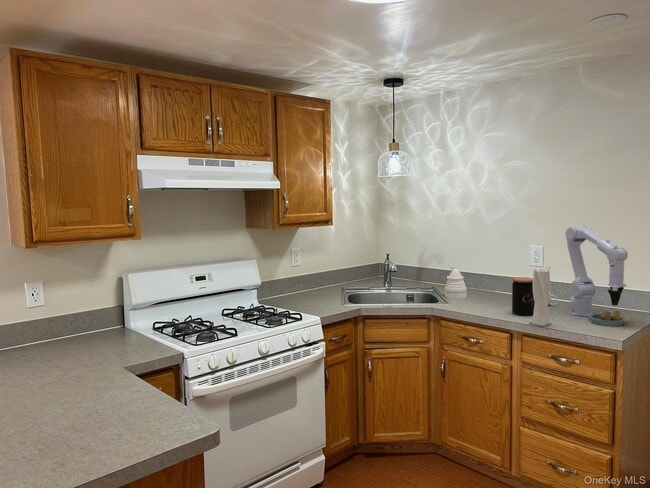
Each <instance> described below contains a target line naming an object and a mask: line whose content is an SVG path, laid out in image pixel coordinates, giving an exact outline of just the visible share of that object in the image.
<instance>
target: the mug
mask: <svg viewBox="0 0 650 488" xmlns="http://www.w3.org/2000/svg"><path fill="white" fill-rule="evenodd" d="M552 297H554V298H555V302H554V303H552V302H551V301H552ZM557 303H558V297H557V296H556V295H555V294H552V293H551V291H550V292H549V297H548V301H547V306H549V305H551V306H554V305H557Z"/></svg>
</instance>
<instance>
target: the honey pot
mask: <svg viewBox="0 0 650 488" xmlns="http://www.w3.org/2000/svg"><path fill="white" fill-rule="evenodd" d="M449 268H450V270H451V272H450V274H449V275H447V276H446V279H447V280H446V283H445V286H444V297H445V298H447V299H465V298H467V293H468V290H467V286H466V282H465V281H464V278H465V277H464V276H463V275H462V273H461V272H460V271H459V269H458V268H455V266H452V265H451V266H449Z"/></svg>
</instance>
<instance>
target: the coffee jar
mask: <svg viewBox="0 0 650 488" xmlns="http://www.w3.org/2000/svg"><path fill="white" fill-rule="evenodd" d="M511 285H512V288H511V289H512V290H511V292H512V293H511V295H512V296H511V304H512V305H511V312H512V313H513V315H515V314H516V316H521V317H528V316H529V317H530V316H533V313H534V306H535V301H534V296H533V277H528V276H527V277H526V276H523V277H522V276H519V277H518V276H517V277H512V284H511Z"/></svg>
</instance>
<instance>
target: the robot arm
mask: <svg viewBox="0 0 650 488" xmlns="http://www.w3.org/2000/svg"><path fill="white" fill-rule="evenodd" d="M564 234H565V238H566V242H567V243H566V244H567V250H568V253H569V257H570V262H571V266H572V271H573V274H574V280H572V282H571V287H572V288H571V290H572V291H571V292H572V295H573V296H571V297H570V309H569V311H570V313H569V314H570V315H571V316H572V315H573V316H581V317H582V316H583V317H589V316H590V315H592V314H594V312H592V311H593V310H592V309H593V297H594V295H596V293H597V288H596V285H595V284H594V281H593V279H592V278H590V277H589V276H588V274H587V273H588V272H587V270H586V265H585V261H584V257H583V253H582V249H581V245H582V244H583V243H584V242H585V241H586V240H587V241H589V242H590V243H592V244H594V245H596V248H597V250H598V251H600V252H601V253H603V254H604V255H605V256H606V257H607V258H606V259H607V260H608V264H609V277H608V279H609V280H608V281H609V282H608V286H609V288H610V289H609V288H608V289H607V292H608V294H609V297H610V301H611V305H612V306H614V307H615V306H617V307H618V305H619V303H620V300H621V295H622V293H623V290H624V288H625V287H627V284H624V281H625V280H624V277H625V275H624V274H625V261H626V260H627V258H628V255H629V253H628V250H626V249H625V247H624V248H623V247H618V245H616V244H613V243H612V242H611V240H610V239H602V238H601V237H600V236H598V235H597V234H596V233H595V232H594V231H592V229H591V228H589V227H588V226H586V225H584V226H569V227H567V229H566V231H565V233H564Z"/></svg>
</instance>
